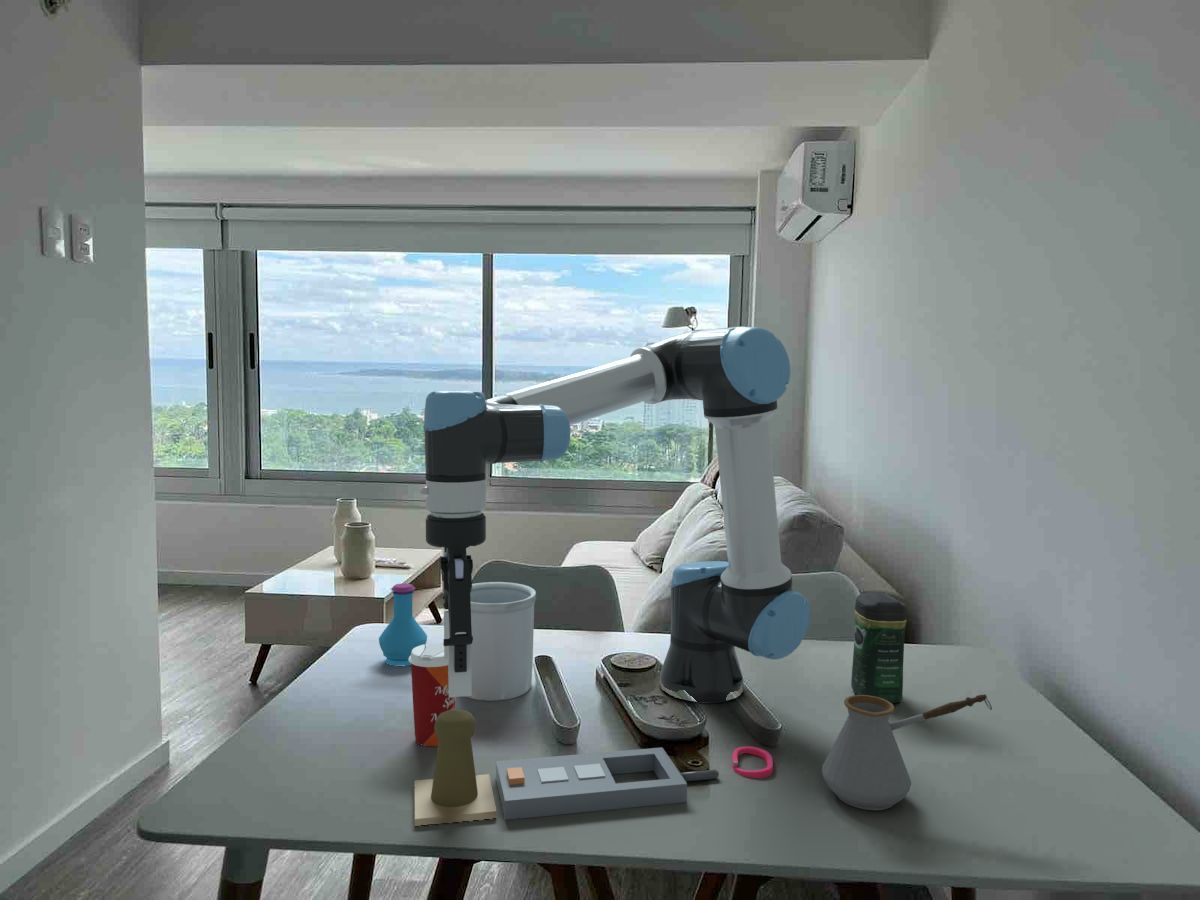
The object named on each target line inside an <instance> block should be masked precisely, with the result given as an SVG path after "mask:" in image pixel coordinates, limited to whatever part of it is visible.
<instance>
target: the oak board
mask: <svg viewBox="0 0 1200 900" xmlns="http://www.w3.org/2000/svg"><path fill="white" fill-rule="evenodd" d="M475 775H476V783H477V790H478V796H477V798H476V799H475V800H474V801H472V802H471V803H469V804H466V805H464V806H458V807H444V806H440V805H437V804H435V803H434V802H433V801H432V799H431V793H432V785H433V778H430V779H429V778H427V779H415V780H414V787H415V788H414V827H415V826H419V827H421V826H420V825H427V824H439V825H441V824H440V823H449V822H450V823H449V824H454V823H453V822H459V823H463V822H462V821H469V822H474V821H473V820H479V821H485V820H484V819H490V820H494V819H493V818H496V819H497V807H496V803H495V796H494V793H493V788H492V783H491V782H492V781H491V777H490V773H487V774H475Z"/></svg>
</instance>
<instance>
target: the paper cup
mask: <svg viewBox="0 0 1200 900" xmlns="http://www.w3.org/2000/svg"><path fill="white" fill-rule="evenodd" d="M409 662H410V663H411V666H410V673H411V690H412V709H413V725H414V727H413V728H414V737H415V743H416V744H417V743H419V744H422V745H425V746H424V747H426V746H437V747H438V743H439V739H438V738H437V736H436V734H435V728H434V726H435V722H436V719H437V717H438V716H439V715H440V714H441V713H443V712H445V711H448V710H454V709H455V707H456V697H450V698H449V675H448V659H444V645H443V642H442V643H440V642H437V643H436V642H435V643H434V642H433V643H432V642H431V643H426V644H424V645H420V646H417V647H415V648H414V649H413V650H412V652H411V656H410V657H409ZM419 744H418V745H419Z"/></svg>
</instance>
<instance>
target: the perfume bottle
mask: <svg viewBox="0 0 1200 900" xmlns="http://www.w3.org/2000/svg"><path fill="white" fill-rule="evenodd" d="M414 590H416V587H415V586H414V585H413V584H411V583H405V582H404V583H396V584H394V585H393V586H392V587H391V588H390V591H392V595H393V618H392V619H391V620H390V622H389V623H388V625H387V626H386V627H385V629H384V630H383V631H382V633H381V634H380V636H378V642H379V648H380V650H381V652H382V654H383V655H382V656H384V657H385V658H386V659H385V663H386V662H387V663H388V664H391V665H410V664H411V663H410V662H409V657H410V656H411V652H412V650H413V649H414V648H415V647H417V646H420V645H424V644H427V640H428V639H427V638H428V635H427V633H426V632H425V630H424V629H423V627H422V626H420V624H419V623H418V621H417V620H416V619H415V618H414V616H413V595H414ZM388 664H387V665H388Z"/></svg>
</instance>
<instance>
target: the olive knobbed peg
mask: <svg viewBox="0 0 1200 900" xmlns="http://www.w3.org/2000/svg"><path fill="white" fill-rule="evenodd" d="M434 728H435V734H436V736H437V738H438V739H439V743H438V746H437V751H436V756H435V757H436V759H435V766H434V772H433V778H432V779H433V785H432V793H431V799H432V801H433V802H434V803H435V804H437V805H440V806H444V807H458V806H464V805H466V804H469V803H471V802H472V801H474V800H475V799H476V798H477V796H478V790H477V783H476V775H477V774H476V768H475V767H476V766H475V760H474V753H473V752H474V751H473V745H472V744H473V743H472V737H473V735H474V734H475V730H476V720H475V717H474V716H473V715H472V713H471V712H469V711H468V710H463V709H454V710H448V711H445V712H443V713H441V714H440V715H439V716H438V717H437V719H436V722H435V726H434Z"/></svg>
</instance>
